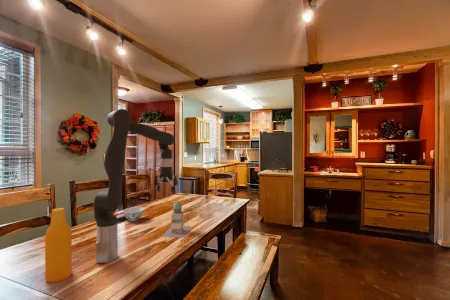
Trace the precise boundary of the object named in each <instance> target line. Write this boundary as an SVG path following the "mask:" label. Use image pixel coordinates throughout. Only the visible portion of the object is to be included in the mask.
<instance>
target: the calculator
mask: <svg viewBox="0 0 450 300" xmlns="http://www.w3.org/2000/svg"><path fill="white" fill-rule="evenodd" d="M113 214H114V215H115V216H116V217H117V220H118V222H117V224H118V223H120V222H124V221H127V220H128V219H127V218H126V217H125V216H124V214H123V211H122V212H117V213H113Z"/></svg>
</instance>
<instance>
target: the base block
mask: <svg viewBox="0 0 450 300" xmlns="http://www.w3.org/2000/svg"><path fill="white" fill-rule="evenodd" d="M184 222H185V220H184V221H183V222H182V223H181V224H178V223H172V222H171V226H172V233H181V232H182V231H183V230H184V226H185V225H184V224H185V223H184Z"/></svg>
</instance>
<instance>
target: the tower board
mask: <svg viewBox="0 0 450 300" xmlns="http://www.w3.org/2000/svg"><path fill="white" fill-rule="evenodd" d="M192 227H193V226H189V225H187V226H186V225H184V230H183V231H182V232H181V233H172V225H171V226H170V227H169V228H168V229H167V230H166V231H165V232H164V234H163V235H162V236H161V238H162V237H163V238H183V239H184V238H186V236H187V234H188V233H189V232H190V230H191V229H192Z"/></svg>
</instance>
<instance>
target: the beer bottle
mask: <svg viewBox="0 0 450 300" xmlns="http://www.w3.org/2000/svg"><path fill="white" fill-rule="evenodd" d="M65 211H66V210H65V207H59V208H58V207H57V208H56V207H55V208H52V210H51V215H50V216H51V217H50V223H49V227H48V228H47V230H46V232H45V237H44V243H45V244H44V254H45V255H44V257H45V258H44V259H45V262H44V263H45V264H44V265H45V269H44V270H45V273H44V275H45V276H44V277H45V281H46V282H47V283H50V282H52V284H53V283H57V282H62V281H64V280H66V279H68V278H69V277H70V276H71V275H72V272H73V263H72V261H73V259H72V255H73V253H72V251H73V250H72V248H73V247H72V246H73V245H72V244H73V243H72V230H71V228H70V226H69V224H68V223H67V219H66V212H65Z"/></svg>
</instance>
